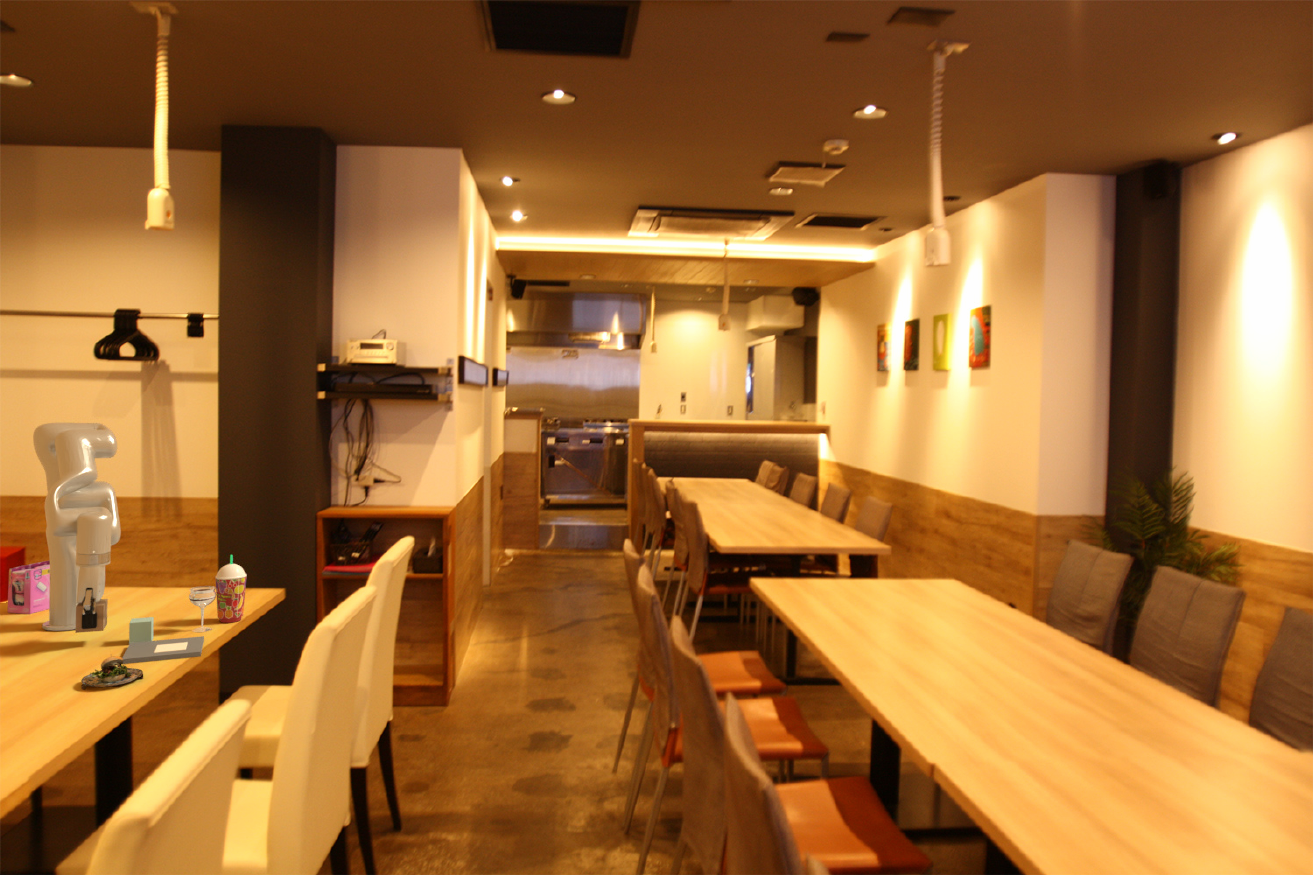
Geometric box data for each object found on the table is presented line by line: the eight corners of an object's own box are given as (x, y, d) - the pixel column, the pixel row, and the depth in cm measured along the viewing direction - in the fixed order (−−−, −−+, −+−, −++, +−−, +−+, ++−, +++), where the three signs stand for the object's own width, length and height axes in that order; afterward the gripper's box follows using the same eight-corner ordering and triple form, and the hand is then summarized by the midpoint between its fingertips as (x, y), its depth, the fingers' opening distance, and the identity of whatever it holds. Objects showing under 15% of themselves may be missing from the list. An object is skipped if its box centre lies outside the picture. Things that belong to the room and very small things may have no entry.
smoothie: (208, 622, 232) (209, 555, 232) (232, 615, 240) (233, 551, 240) (228, 625, 229) (229, 558, 229) (252, 619, 237) (253, 554, 237)
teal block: (131, 640, 213) (132, 618, 213) (153, 638, 215) (153, 616, 215) (129, 645, 208) (129, 623, 208) (151, 643, 211) (151, 621, 211)
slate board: (130, 647, 206) (130, 642, 206) (203, 640, 214) (203, 635, 214) (121, 664, 193) (121, 658, 193) (200, 656, 201) (200, 651, 201)
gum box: (26, 615, 234) (27, 570, 233) (2, 614, 234) (2, 569, 234) (91, 597, 258) (91, 556, 257) (68, 596, 258) (69, 555, 258)
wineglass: (219, 630, 225) (219, 588, 224) (192, 634, 220) (193, 592, 219) (211, 625, 229) (211, 584, 229) (185, 629, 224) (185, 588, 224)
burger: (74, 694, 173) (74, 661, 173) (88, 677, 184) (88, 646, 184) (137, 688, 178) (138, 656, 178) (148, 672, 189) (148, 642, 188)
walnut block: (80, 625, 210) (80, 600, 209) (106, 623, 213) (107, 598, 212) (75, 632, 204) (76, 606, 204) (103, 630, 207) (103, 605, 207)
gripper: (82, 551, 213) (80, 615, 214) (69, 566, 198) (67, 635, 199) (115, 550, 217) (113, 613, 218) (104, 565, 201) (103, 633, 203)
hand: (91, 623), depth 208 cm, fingers closed on walnut block, 6 cm apart
